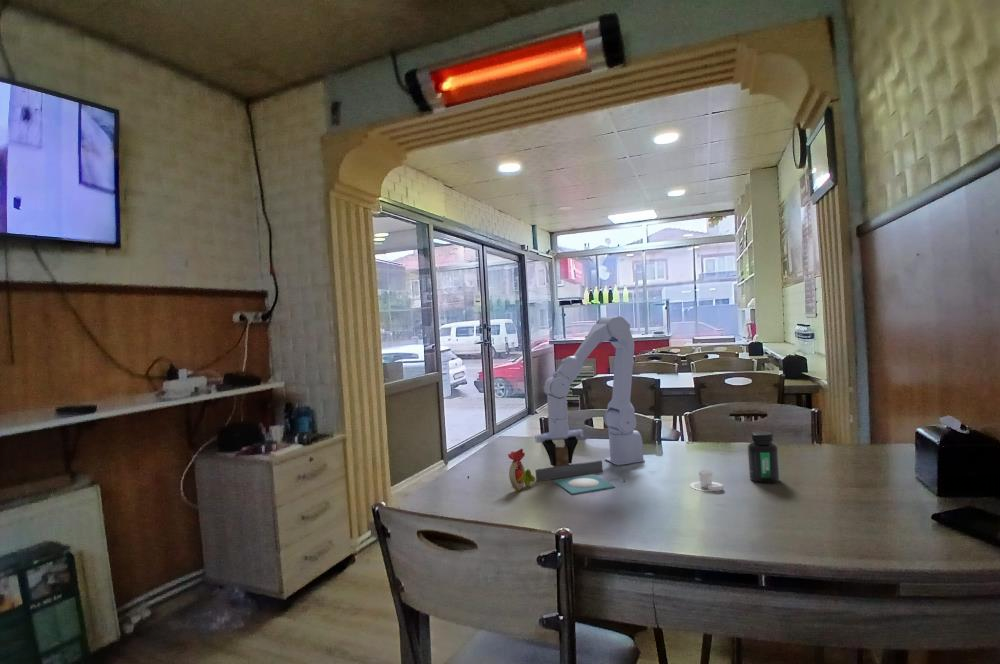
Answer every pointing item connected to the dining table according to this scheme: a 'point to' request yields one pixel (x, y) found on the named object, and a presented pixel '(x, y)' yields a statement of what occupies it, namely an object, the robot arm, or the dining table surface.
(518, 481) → the bird rattle
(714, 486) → the teacup and saucer
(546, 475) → the low wall
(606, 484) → the mat
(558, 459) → the walnut cylinder
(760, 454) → the supplement bottle
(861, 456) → the dining table surface
